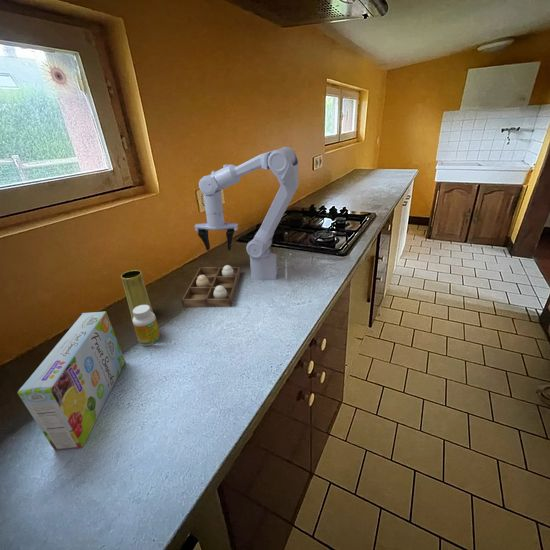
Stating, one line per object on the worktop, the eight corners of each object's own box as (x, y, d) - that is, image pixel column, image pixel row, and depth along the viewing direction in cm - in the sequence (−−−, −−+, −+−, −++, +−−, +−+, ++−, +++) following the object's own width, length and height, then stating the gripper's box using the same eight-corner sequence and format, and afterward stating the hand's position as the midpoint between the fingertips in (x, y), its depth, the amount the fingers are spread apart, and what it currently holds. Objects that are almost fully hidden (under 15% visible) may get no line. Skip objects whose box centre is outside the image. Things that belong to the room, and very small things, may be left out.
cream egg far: (235, 275, 108) (234, 262, 106) (233, 281, 104) (232, 268, 102) (223, 275, 108) (222, 262, 106) (221, 281, 105) (219, 268, 102)
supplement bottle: (153, 347, 76) (144, 316, 72) (134, 345, 77) (124, 314, 73) (164, 334, 81) (156, 303, 76) (146, 332, 82) (137, 302, 77)
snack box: (102, 364, 71) (81, 311, 64) (126, 362, 72) (108, 309, 65) (51, 452, 53) (14, 391, 46) (84, 448, 53) (52, 388, 46)
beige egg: (211, 285, 102) (209, 272, 100) (208, 291, 98) (206, 278, 96) (199, 285, 102) (196, 272, 100) (195, 291, 99) (193, 278, 96)
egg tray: (240, 275, 110) (240, 267, 108) (231, 308, 91) (230, 299, 89) (200, 275, 110) (199, 267, 109) (183, 309, 91) (181, 299, 90)
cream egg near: (228, 296, 96) (227, 282, 93) (226, 303, 92) (224, 289, 90) (215, 296, 96) (213, 282, 93) (213, 303, 92) (210, 289, 90)
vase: (158, 313, 90) (147, 270, 83) (144, 325, 85) (131, 280, 78) (141, 309, 91) (130, 267, 85) (127, 321, 86) (113, 277, 80)
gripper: (237, 208, 105) (240, 244, 111) (196, 209, 105) (201, 245, 112) (234, 214, 98) (238, 252, 105) (190, 215, 99) (196, 252, 105)
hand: (219, 249), depth 108 cm, fingers open, 7 cm apart
